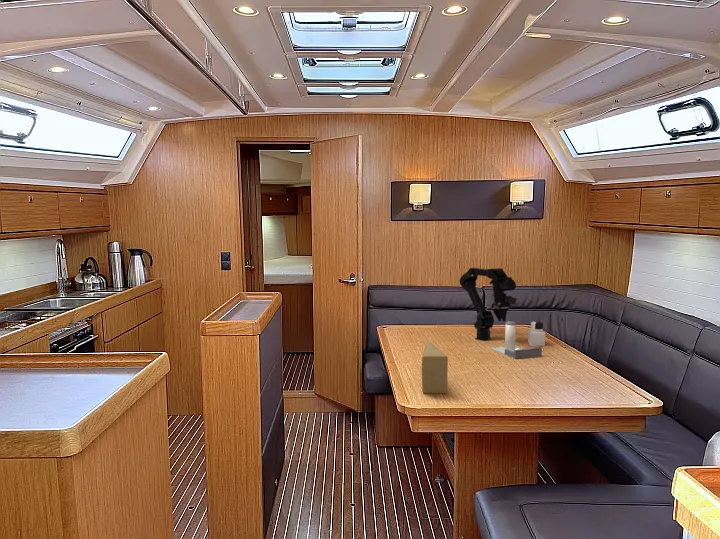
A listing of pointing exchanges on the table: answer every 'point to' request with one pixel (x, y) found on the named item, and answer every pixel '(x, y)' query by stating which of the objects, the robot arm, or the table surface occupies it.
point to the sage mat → (503, 349)
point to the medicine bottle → (536, 334)
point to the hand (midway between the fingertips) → (502, 321)
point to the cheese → (434, 370)
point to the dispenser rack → (524, 352)
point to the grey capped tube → (510, 335)
